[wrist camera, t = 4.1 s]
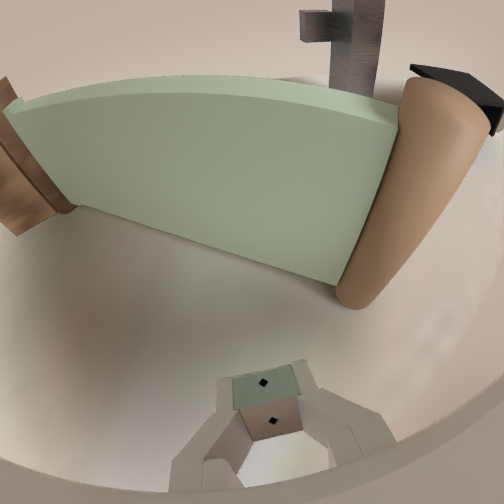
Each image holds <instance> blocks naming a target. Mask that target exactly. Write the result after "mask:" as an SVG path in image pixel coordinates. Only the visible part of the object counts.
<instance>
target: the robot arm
mask: <svg viewBox="0 0 504 504" xmlns="http://www.w3.org/2000/svg"><path fill="white" fill-rule="evenodd" d="M302 430H303V431H304V432H305V433H307V434H308V435H309V436H311V437H312V438H313V439H315V440H316V441H317V442H319V443H320V444H322V445H323V446H324V447H326V448H327V449H328V453H329V468H330V469H328V470H325V471H321V472H318V473H314V474H311V475H307V476H303V477H299V478H295V479H291V480H286V481H282V482H277V483H272V484H267V485H261V486H255V487H248V488H245V487H244V486H243V484H242V483H241V481H240V480H239V479H238V477H237V476H236V474H237V473H238V471H239V469H240V467H241V465H242V464H243V462H244V460H245V458H246V456H247V454H248V453H249V451H250V449H251V447H252V445H253V442H255V441H259V440H264V439H268V438H272V437H276V436H281V435H285V434H290V433H294V432H298V431H302ZM0 504H504V373H503V375H501V376H500V377H499V378H497V380H495V381H494V382H493V383H491V384H490V385H489V386H488V387H486V388H485V389H484V390H482V391H481V392H480V393H478V394H477V395H476V396H475V397H473V398H472V399H470V400H469V401H467V402H466V403H465V404H463V405H461V406H460V407H458V408H457V409H455V410H454V411H452V412H451V413H450V414H448V415H446V416H444V417H443V418H441V419H440V420H438V421H436V422H435V423H433V424H432V425H429V426H428V427H426V428H424V429H422V430H420V431H419V432H417V433H415V434H413V435H411V436H409V437H407V438H405V439H403V440H401V441H399V442H396V440H395V438H394V436H393V435H392V433H391V431H390V430H389V428H388V426H387V425H386V423H385V421H384V420H383V418H382V416H381V415H380V414H378V413H376V412H374V411H371V410H369V409H367V408H364V407H362V406H360V405H358V404H355V403H353V402H351V401H349V400H347V399H344V398H342V397H340V396H338V395H336V394H334V393H332V392H330V391H327V390H325V389H318V387H317V385H316V382H315V380H314V378H313V375H312V373H311V371H310V368H309V366H308V364H307V361H306V360H305V359H302V360H299V361H296V362H292V363H290V364H286V365H283V366H279V367H275V368H271V369H267V370H263V371H258V372H254V373H249V374H244V375H239V376H233V377H229V378H223V379H218V381H217V408H216V414H212V415H211V416H210V417H209V419H208V420H207V421H206V422H205V423H204V425H203V426H202V427H201V428H200V429H199V431H198V432H197V433H196V434H195V435H194V436H193V438H192V439H191V440H190V441H189V442H188V443H187V445H186V446H185V447H184V448H183V449H182V450H181V451H180V452H179V454H178V455H177V456H176V457H175V458H174V459H173V460H172V466H171V474H170V483H169V492H168V493H167V492H144V491H132V490H122V489H114V488H107V487H101V486H95V485H90V484H84V483H80V482H75V481H71V480H67V479H63V478H59V477H55V476H52V475H48V474H45V473H41V472H38V471H35V470H32V469H29V468H26V467H24V466H21V465H18V464H16V463H13V462H11V461H8V460H6V459H3V458H1V457H0Z"/></svg>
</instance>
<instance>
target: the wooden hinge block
mask: <svg viewBox="0 0 504 504" xmlns="http://www.w3.org/2000/svg"><path fill="white" fill-rule="evenodd" d="M17 98H18V97H17V95H16V93H15V91H14V90H13V88H12V86H11V84H10V83H9V81H8V79H7V77H4V78H3V79H1V80H0V222H1V223H2V224H3V225H5V226H6V227H7V228H8V229H9V230H10V231H11V232H12V233H13V234H15V235H16V236H18V235H19V234H21V233H23V232H24V231H26V230H28V229H29V228H31V227H33V226H35V225H36V224H38V223H40V222H42V221H44V220H45V219H47V218H49V217H51V216H53V215H55V214H57V211H59V212H60V213H61V214H66V213H69V212H70V211H72V210H73V209H74V208H75V207H76V206H77V205H75V204H72V203H70V201H69V200H68V199H67V198H66V197H65V196H64V194H63V193H62V192H61V191H60V190H59V188H58V187H57V186H56V185H55V183H54V182H53V181H52V180H51V178H50V177H49V176H48V175H47V173H46V172H45V171H44V170H43V168H42V167H41V166H40V164H39V163H38V162H37V160H36V159H35V158H34V156H33V155H32V154H31V152H30V151H29V150H28V148H27V147H26V145H25V144H24V143H23V141H22V140H21V138H20V137H19V136H18V134H17V133H16V131H15V130H14V128H13V127H12V125H11V124H10V122H9V121H8V119H7V118H6V116H5V115H4V113H3V110H4V109H5V108H6V107H7V106H8V105H9V104H10V103H11V102H12V101H13V100H15V99H17Z"/></svg>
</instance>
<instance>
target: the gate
mask: <svg viewBox="0 0 504 504" xmlns="http://www.w3.org/2000/svg"><path fill="white" fill-rule="evenodd" d="M3 113H4V115H5V116H6V118H7V119H8V121H9V122H10V124H11V125H12V127H13V128H14V130H15V131H16V133H17V134H18V136H19V137H20V138H21V140H22V141H23V143H24V144H25V145H26V147H27V148H28V150H29V151H30V152H31V154H32V155H33V156H34V158H35V159H36V160H37V162H38V163H39V164H40V166H41V167H42V168H43V170H44V171H45V172H46V173H47V175H48V176H49V177H50V178H51V180H52V181H53V182H54V183H55V185H56V186H57V187H58V188H59V190H60V191H61V192H62V193H63V194H64V196H65V197H66V198H67V199H68V200H69V201H70V203H72V204H75V205H78V206H81V205H82V204H83V205H86V206H89V207H92V208H95V209H98V210H101V211H104V212H107V213H110V214H113V215H116V216H119V217H122V218H125V219H128V220H131V221H134V222H137V223H140V224H143V225H146V226H149V227H152V228H155V229H158V230H161V231H165V232H168V233H171V234H174V235H177V236H180V237H183V238H186V239H189V240H192V241H195V242H198V243H202V244H205V245H208V246H211V247H214V248H217V249H220V250H223V251H226V252H230V253H233V254H236V255H239V256H242V257H245V258H248V259H251V260H255V261H258V262H261V263H264V264H267V265H270V266H273V267H277V268H280V269H283V270H286V271H289V272H292V273H296V274H299V275H302V276H305V277H308V278H311V279H315V280H318V281H321V282H324V283H327V284H331V285H334V286H335V292H336V296H337V298H338V300H339V301H340V302H341V303H342V304H343V305H344V306H345V307H347V308H350V309H355V310H358V309H363V308H365V307H367V306H368V305H369V304H370V303H371V302H372V301H373V300H374V299H375V298H376V296H377V295H378V294H379V293H380V292H381V291H382V290H383V288H384V287H385V286H386V285H387V284H388V283H389V281H390V280H391V279H392V278H393V277H394V275H395V274H396V273H397V272H398V271H399V269H400V268H401V267H402V266H403V264H404V263H405V262H406V261H407V259H408V258H409V257H410V256H411V254H412V253H413V252H414V250H415V249H416V248H417V247H418V245H419V244H420V243H421V241H422V240H423V238H424V237H425V236H426V234H427V233H428V232H429V230H430V229H431V227H432V226H433V225H434V223H435V222H436V220H437V219H438V218H439V216H440V215H441V213H442V212H443V210H444V209H445V207H446V206H447V204H448V203H449V201H450V200H451V198H452V197H453V195H454V193H455V192H456V190H457V189H458V187H459V185H460V184H461V182H462V180H463V179H464V177H465V175H466V174H467V172H468V170H469V169H470V167H471V165H472V163H473V162H474V160H475V158H476V156H477V154H478V153H479V151H480V149H481V147H482V145H483V143H484V141H485V139H486V137H487V135H488V133H489V131H490V129H491V126H490V122H489V120H488V118H487V117H486V115H485V114H484V112H483V111H482V110H481V109H480V108H479V107H478V106H477V105H476V104H475V103H474V102H473V101H472V100H470V99H469V98H468V97H467V96H465V95H464V94H462V93H461V92H459V91H458V90H456V89H454V88H452V87H450V86H448V85H446V84H444V83H442V82H439V81H436V80H433V79H429V78H424V77H412V78H409V79H408V80H407V82H406V85H405V89H404V93H403V97H402V101H401V105H400V109H399V112H398V106H396V105H393V104H390V103H387V102H383V101H380V100H376V99H373V98H369V97H365V96H362V95H358V94H354V93H349V92H345V91H341V90H336V89H331V88H326V87H321V86H316V85H310V84H304V83H298V82H291V81H283V80H275V79H266V78H254V77H242V76H220V75H219V76H218V75H182V76H161V77H148V78H137V79H128V80H120V81H113V82H107V83H100V84H94V85H89V86H84V87H79V88H74V89H70V90H66V91H62V92H57V93H53V94H50V95H46V96H42V97H39V98H36V99H33V100H29V101H26V102H24V101H23V99H22V97H20V98H17V99H15V100H13V101H12V102H11V103H10V104H9V105H8V106H7V107H6V108H5V109H4V110H3Z"/></svg>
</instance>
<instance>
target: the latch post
mask: <svg viewBox="0 0 504 504" xmlns="http://www.w3.org/2000/svg"><path fill="white" fill-rule="evenodd" d="M384 9H385V0H332V12H330V11H327V10H299V14H300V40H302V41H303V42H305V43H309V42H329V41H331V58H330V59H331V60H330V75H329V88H331V89H336V90H341V91H345V92H349V93H354V94H358V95H362V96H365V97H369V98H372V95H373V90H374V84H375V78H376V72H377V65H378V59H379V52H380V44H381V37H382V28H383V20H384Z"/></svg>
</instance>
